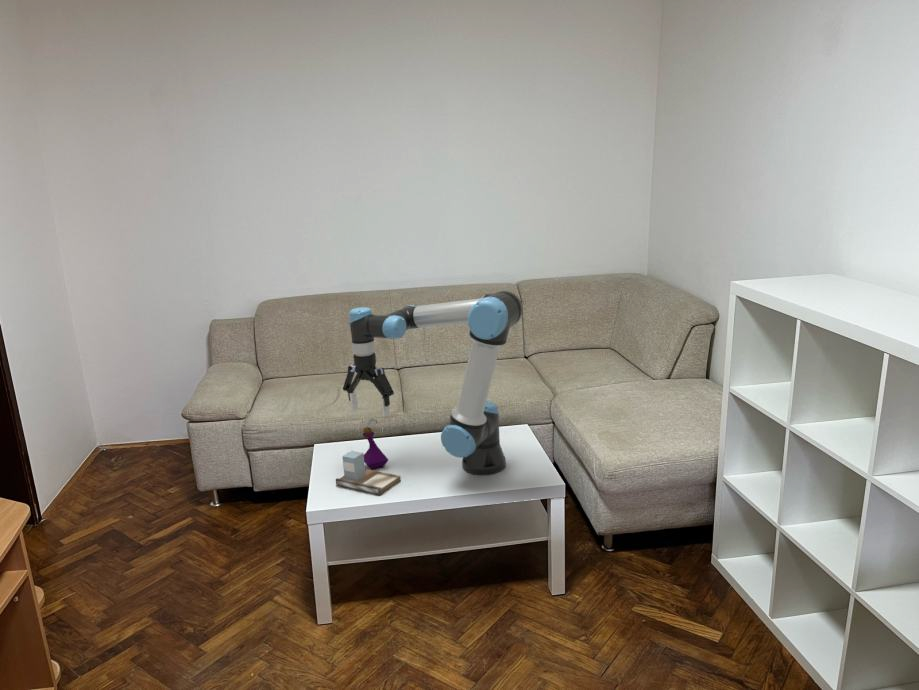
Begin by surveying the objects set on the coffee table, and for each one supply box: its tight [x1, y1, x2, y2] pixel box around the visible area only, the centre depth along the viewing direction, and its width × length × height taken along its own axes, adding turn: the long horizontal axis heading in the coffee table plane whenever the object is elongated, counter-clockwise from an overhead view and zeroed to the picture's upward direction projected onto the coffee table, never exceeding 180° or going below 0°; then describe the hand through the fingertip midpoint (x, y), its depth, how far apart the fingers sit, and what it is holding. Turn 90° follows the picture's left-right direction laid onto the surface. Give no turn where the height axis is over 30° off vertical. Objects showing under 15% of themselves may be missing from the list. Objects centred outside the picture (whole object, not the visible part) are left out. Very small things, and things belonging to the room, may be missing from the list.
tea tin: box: [341, 450, 366, 481], centre depth 242 cm, size 5×5×8 cm
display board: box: [335, 468, 401, 497], centre depth 241 cm, size 18×12×3 cm, turn 60°
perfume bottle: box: [362, 417, 389, 471], centre depth 252 cm, size 8×8×18 cm
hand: (370, 412), depth 249 cm, fingers open, 13 cm apart
